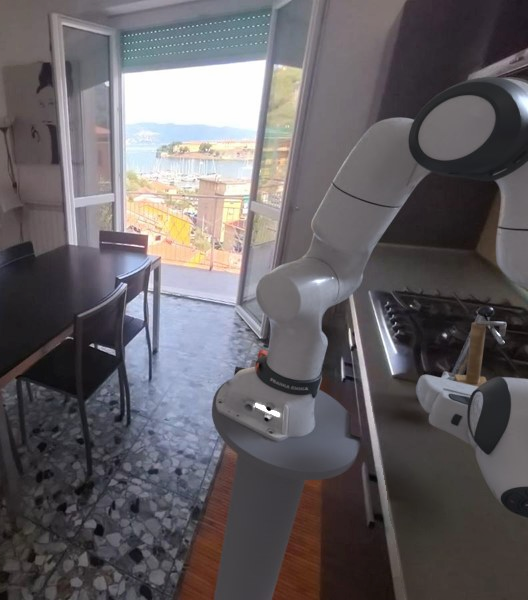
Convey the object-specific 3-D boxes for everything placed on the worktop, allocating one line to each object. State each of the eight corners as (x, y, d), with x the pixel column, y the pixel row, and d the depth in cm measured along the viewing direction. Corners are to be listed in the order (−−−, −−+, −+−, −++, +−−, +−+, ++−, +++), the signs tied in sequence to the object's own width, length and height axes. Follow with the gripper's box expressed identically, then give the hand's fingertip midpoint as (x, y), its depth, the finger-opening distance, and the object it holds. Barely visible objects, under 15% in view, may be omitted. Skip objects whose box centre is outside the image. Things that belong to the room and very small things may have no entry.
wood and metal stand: (433, 427, 79) (479, 327, 69) (423, 388, 91) (461, 298, 81) (481, 441, 76) (537, 337, 65) (464, 399, 88) (509, 305, 77)
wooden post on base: (458, 397, 79) (465, 325, 74) (453, 385, 83) (460, 316, 77) (499, 402, 75) (510, 327, 70) (492, 389, 79) (502, 317, 74)
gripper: (605, 438, 52) (563, 385, 63) (430, 393, 61) (419, 354, 72) (583, 468, 55) (545, 413, 65) (418, 421, 64) (409, 379, 75)
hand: (478, 382), depth 69 cm, fingers open, 8 cm apart
